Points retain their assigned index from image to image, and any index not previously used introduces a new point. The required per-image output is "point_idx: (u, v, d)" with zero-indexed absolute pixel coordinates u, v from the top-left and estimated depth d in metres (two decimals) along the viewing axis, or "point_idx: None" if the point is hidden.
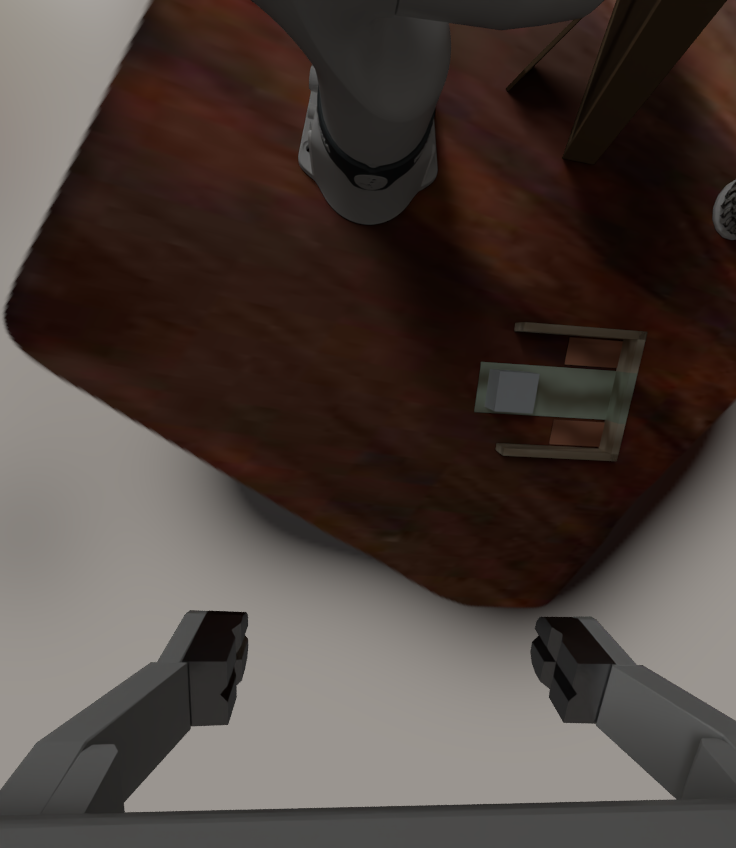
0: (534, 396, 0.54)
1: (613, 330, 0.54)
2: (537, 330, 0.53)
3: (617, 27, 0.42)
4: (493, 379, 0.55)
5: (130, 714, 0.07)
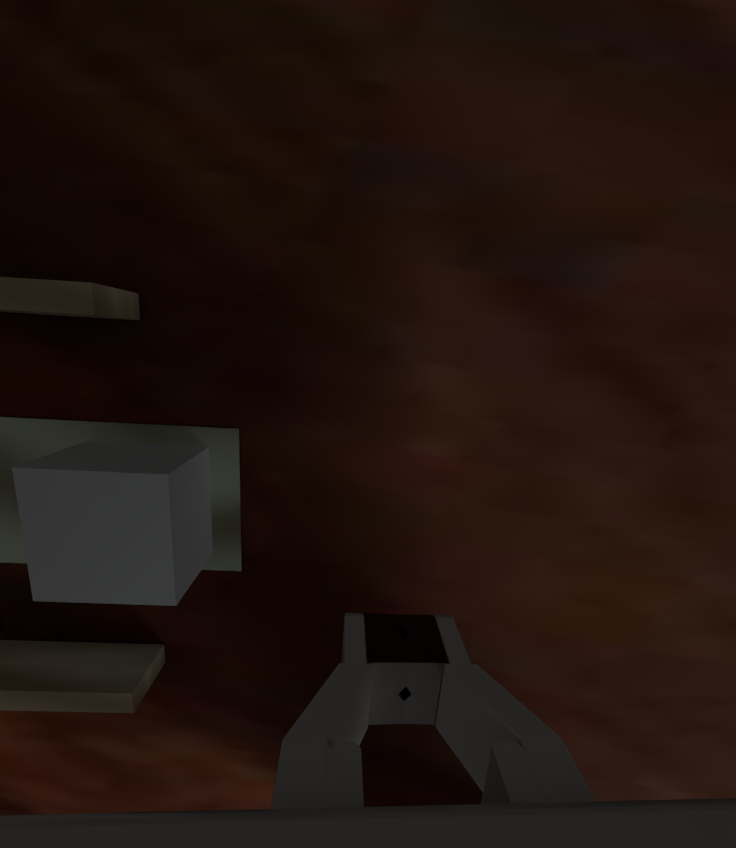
0: (26, 528, 0.15)
1: None
2: (88, 695, 0.18)
3: None
4: (193, 550, 0.17)
5: (345, 713, 0.07)
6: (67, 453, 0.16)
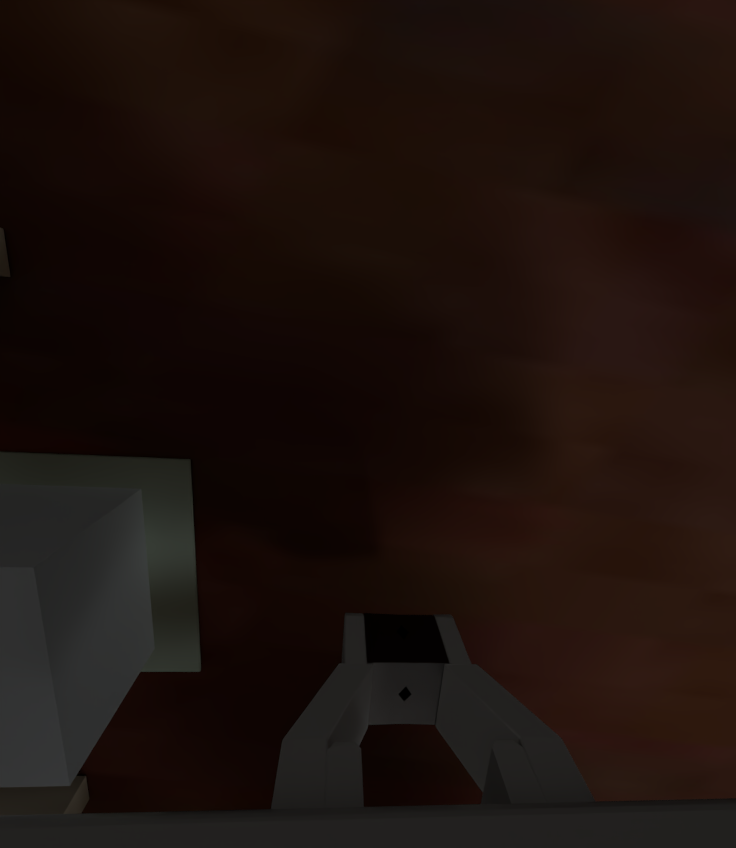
0: None
1: None
2: None
3: None
4: (112, 666, 0.10)
5: (345, 713, 0.07)
6: None
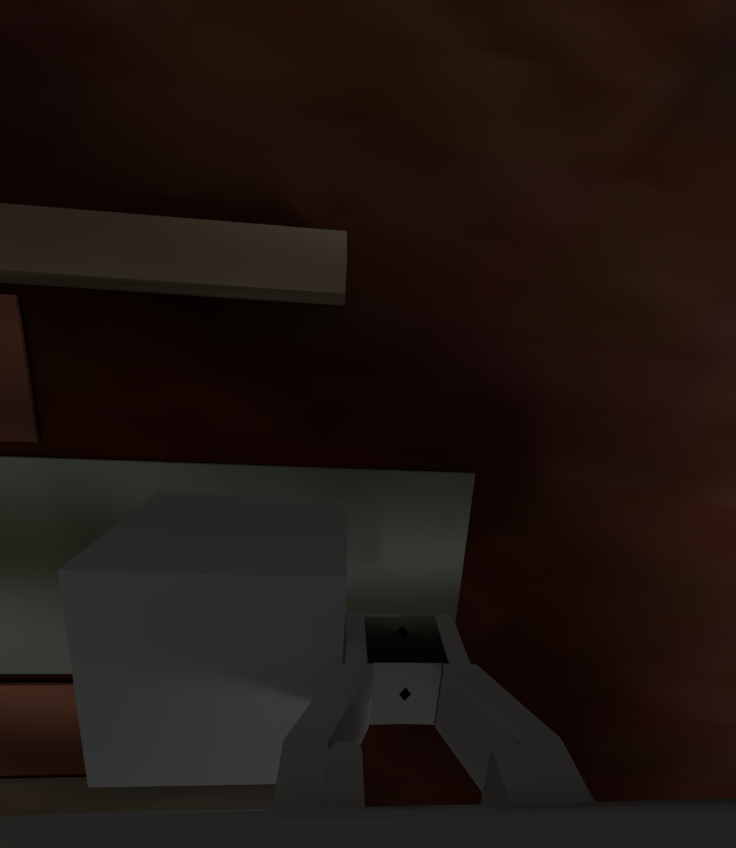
0: (81, 674, 0.08)
1: None
2: None
3: None
4: None
5: (346, 713, 0.07)
6: (140, 523, 0.09)
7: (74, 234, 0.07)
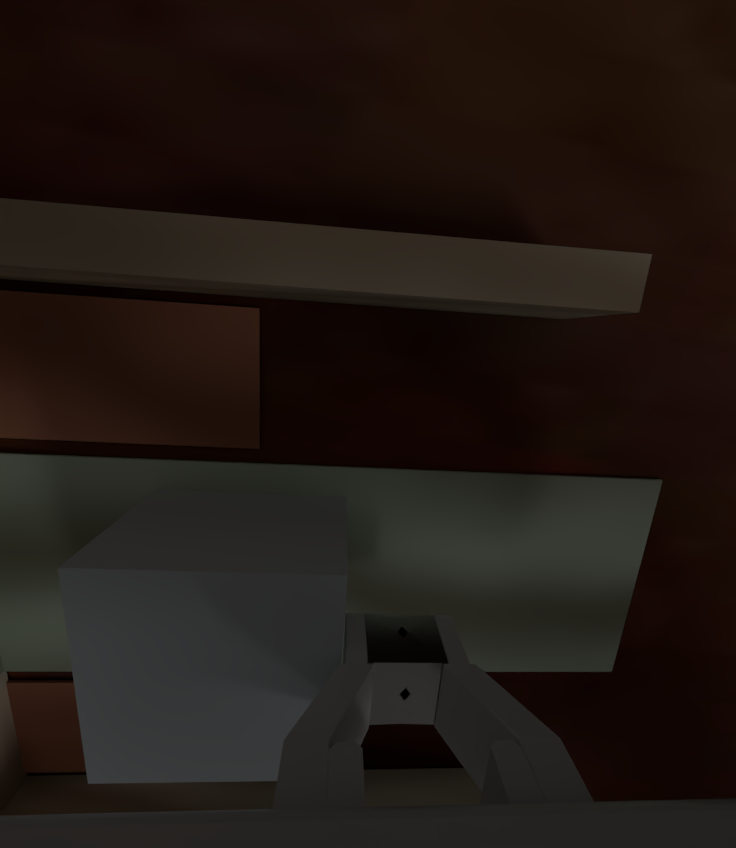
0: (81, 670, 0.08)
1: None
2: None
3: None
4: None
5: (347, 713, 0.07)
6: (140, 520, 0.09)
7: (406, 257, 0.08)
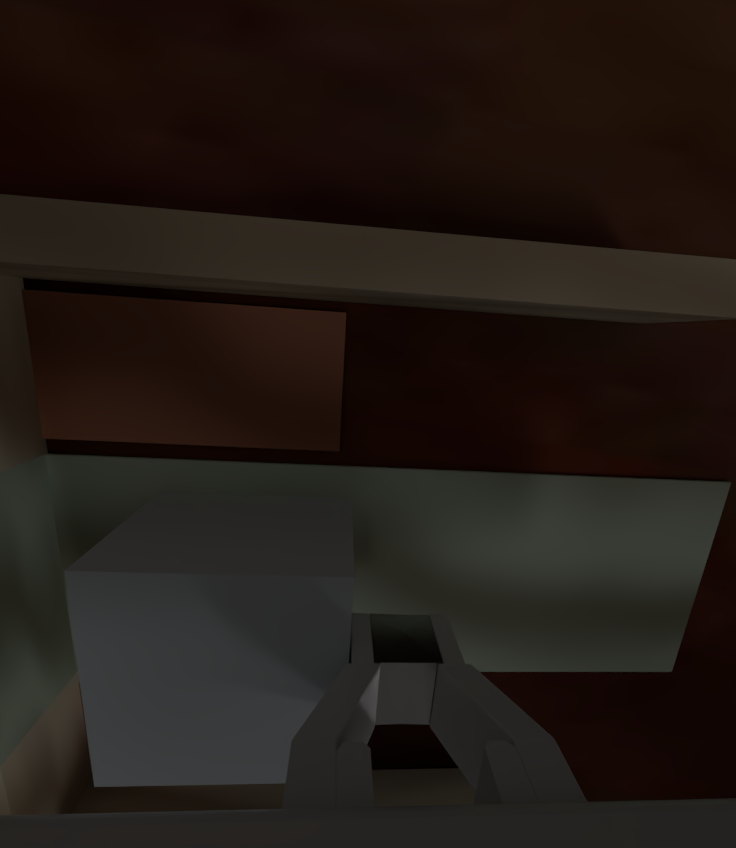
0: (87, 674, 0.08)
1: None
2: None
3: None
4: None
5: (354, 713, 0.07)
6: (145, 523, 0.09)
7: (523, 264, 0.08)
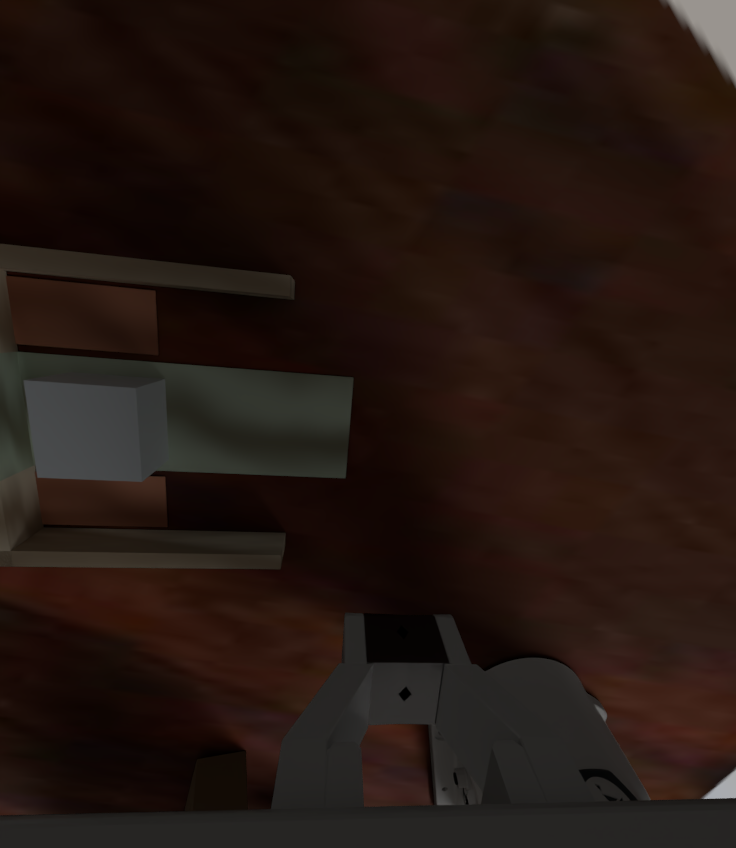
0: (33, 424, 0.21)
1: (78, 564, 0.25)
2: (251, 556, 0.26)
3: None
4: (154, 450, 0.24)
5: (345, 713, 0.07)
6: (59, 376, 0.23)
7: (198, 273, 0.21)
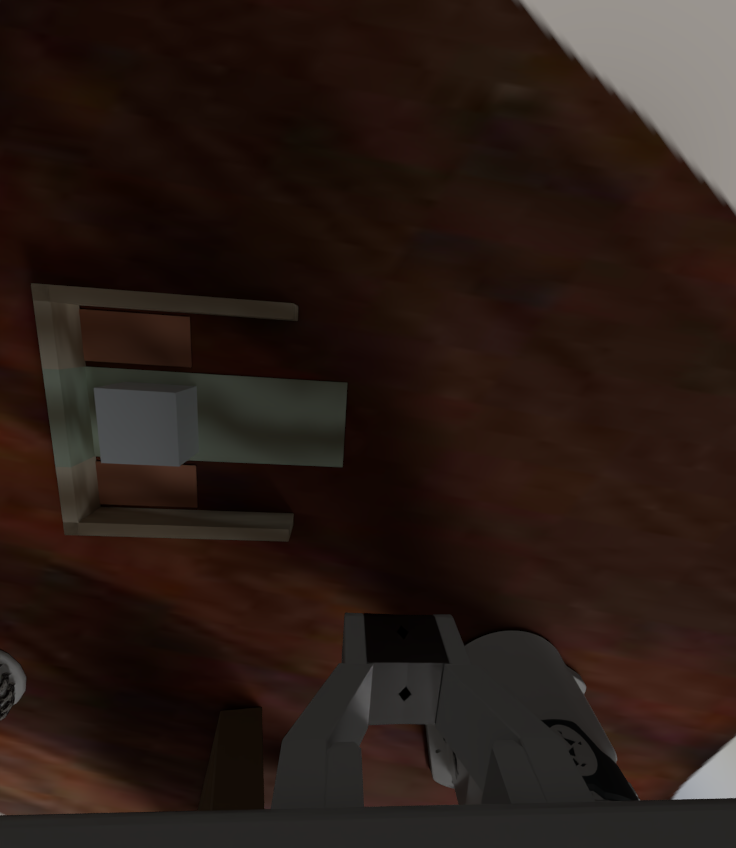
0: (99, 421, 0.28)
1: (129, 534, 0.31)
2: (264, 530, 0.32)
3: None
4: (188, 442, 0.31)
5: (345, 713, 0.07)
6: (117, 385, 0.29)
7: (222, 304, 0.28)
